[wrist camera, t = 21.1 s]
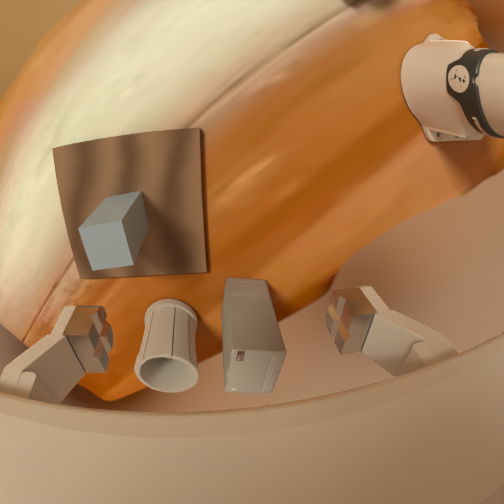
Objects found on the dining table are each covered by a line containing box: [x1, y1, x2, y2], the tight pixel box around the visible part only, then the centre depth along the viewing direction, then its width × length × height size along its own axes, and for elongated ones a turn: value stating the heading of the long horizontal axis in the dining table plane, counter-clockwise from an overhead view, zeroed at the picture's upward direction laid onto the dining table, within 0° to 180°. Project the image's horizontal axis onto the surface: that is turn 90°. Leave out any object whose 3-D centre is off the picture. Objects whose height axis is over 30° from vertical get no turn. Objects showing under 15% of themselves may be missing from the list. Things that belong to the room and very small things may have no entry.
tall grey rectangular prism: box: [78, 191, 149, 271], centre depth 31 cm, size 5×5×10 cm
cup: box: [134, 299, 199, 393], centre depth 41 cm, size 10×9×12 cm
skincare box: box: [222, 278, 286, 393], centre depth 39 cm, size 8×7×16 cm
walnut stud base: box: [53, 128, 207, 279], centre depth 34 cm, size 20×20×7 cm
